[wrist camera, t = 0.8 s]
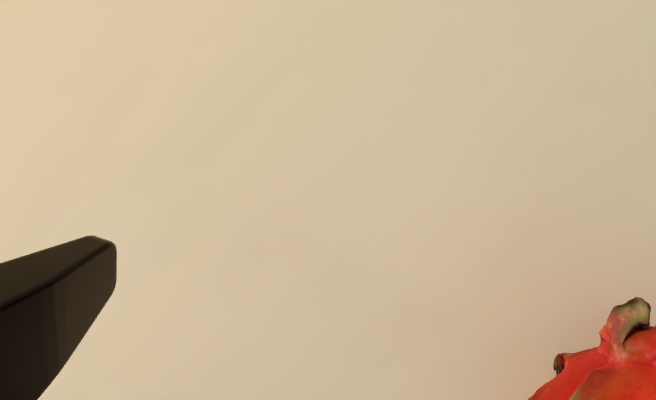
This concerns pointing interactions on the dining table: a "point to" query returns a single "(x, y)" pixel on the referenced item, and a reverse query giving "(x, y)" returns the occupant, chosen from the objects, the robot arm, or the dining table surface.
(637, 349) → the dragon fruit
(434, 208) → the dining table surface
